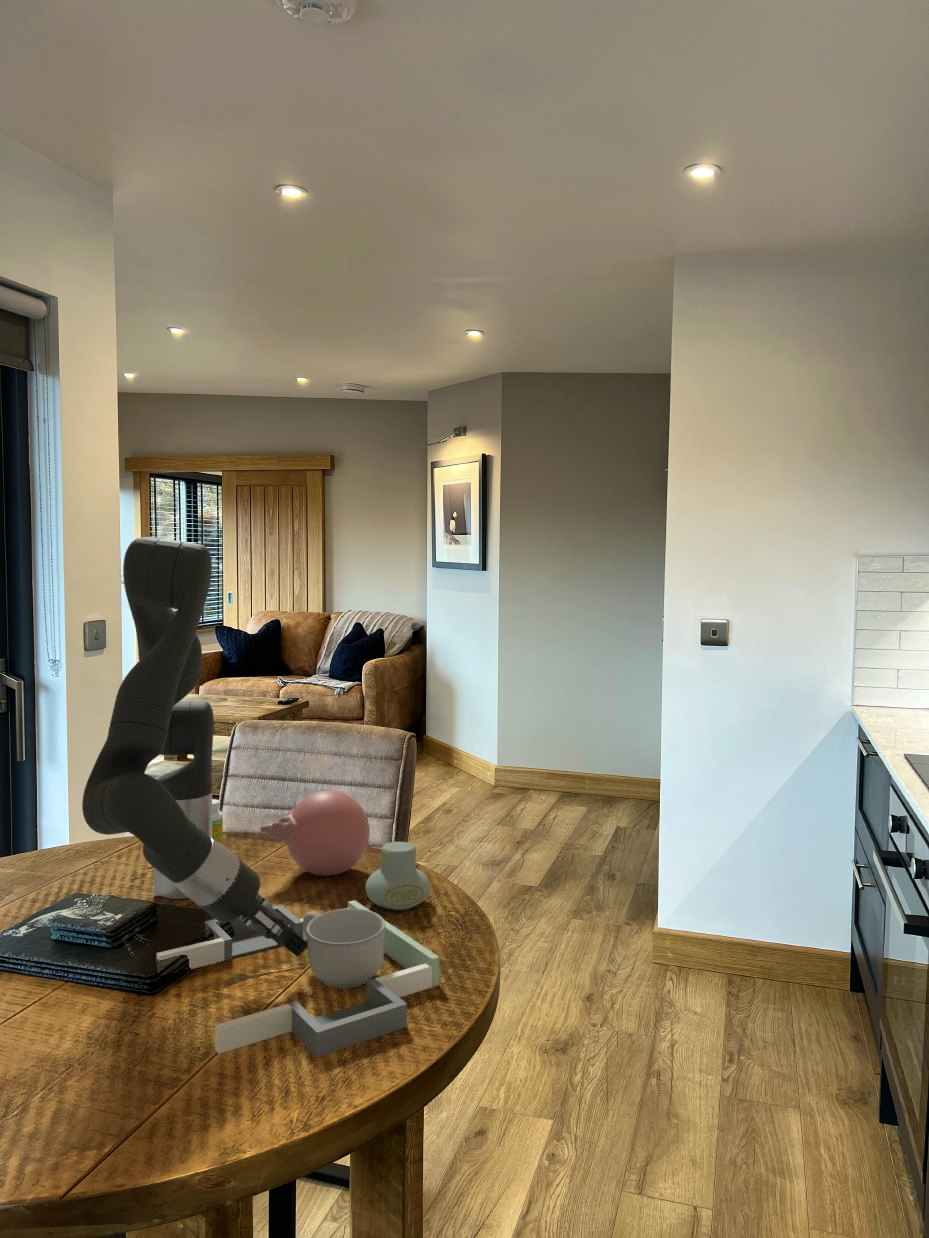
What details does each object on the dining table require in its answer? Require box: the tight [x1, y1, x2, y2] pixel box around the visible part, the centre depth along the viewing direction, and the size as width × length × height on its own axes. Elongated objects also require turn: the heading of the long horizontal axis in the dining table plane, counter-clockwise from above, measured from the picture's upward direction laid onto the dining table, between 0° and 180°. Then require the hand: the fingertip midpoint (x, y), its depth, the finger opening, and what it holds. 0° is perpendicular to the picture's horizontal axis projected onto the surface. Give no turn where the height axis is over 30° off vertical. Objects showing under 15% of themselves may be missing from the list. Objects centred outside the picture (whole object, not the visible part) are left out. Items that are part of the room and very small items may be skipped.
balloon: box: [259, 789, 371, 877], centre depth 165 cm, size 15×20×15 cm
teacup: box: [302, 907, 386, 990], centre depth 126 cm, size 14×11×8 cm
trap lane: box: [156, 900, 440, 1058], centre depth 124 cm, size 31×38×4 cm
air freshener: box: [365, 841, 431, 912], centre depth 152 cm, size 11×8×10 cm
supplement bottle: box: [212, 798, 224, 846], centre depth 179 cm, size 5×5×10 cm
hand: (301, 948), depth 125 cm, fingers closed
